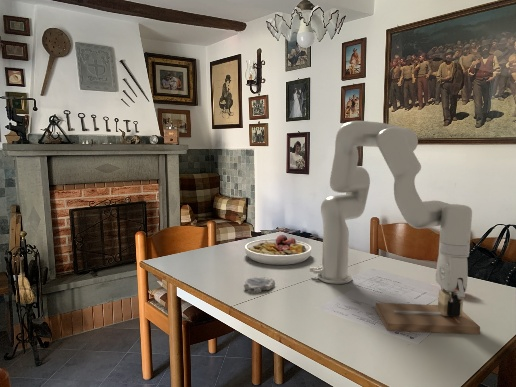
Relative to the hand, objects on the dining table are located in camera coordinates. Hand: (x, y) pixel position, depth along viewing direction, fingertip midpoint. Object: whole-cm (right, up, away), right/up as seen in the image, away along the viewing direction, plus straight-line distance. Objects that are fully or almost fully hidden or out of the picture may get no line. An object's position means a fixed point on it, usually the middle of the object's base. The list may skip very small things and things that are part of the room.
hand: (449, 311), depth 109 cm
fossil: (-54, 0, +26) cm, 60 cm away
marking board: (-7, -3, +1) cm, 8 cm away
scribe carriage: (0, -1, 0) cm, 1 cm away
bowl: (-45, +4, +65) cm, 80 cm away
